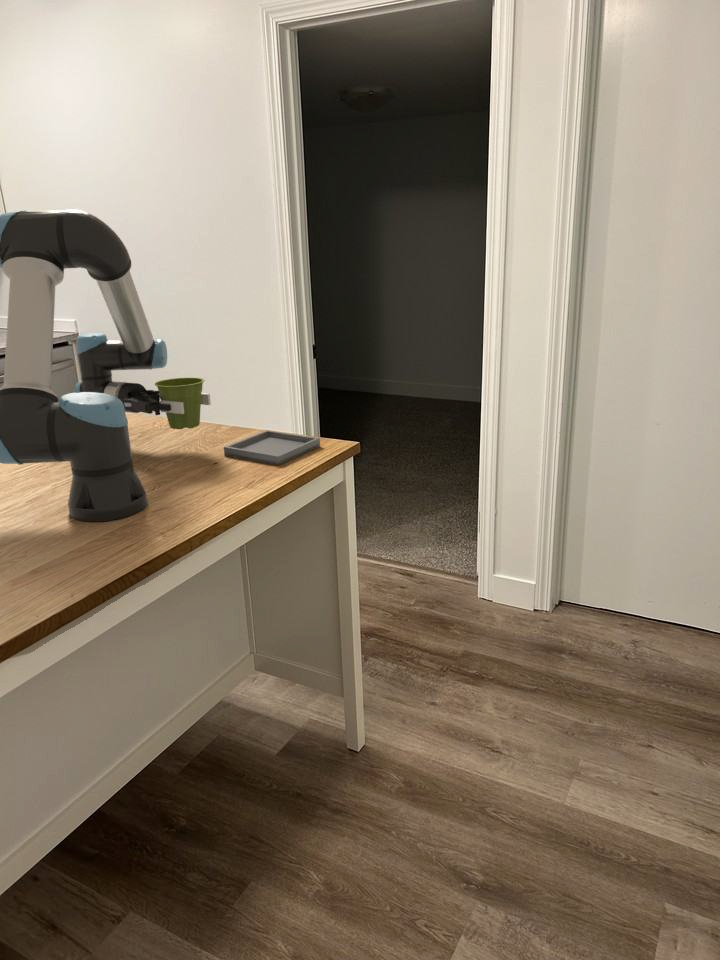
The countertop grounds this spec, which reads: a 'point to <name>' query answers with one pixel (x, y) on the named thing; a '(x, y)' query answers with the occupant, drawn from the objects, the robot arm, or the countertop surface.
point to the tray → (272, 447)
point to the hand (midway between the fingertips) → (196, 403)
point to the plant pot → (183, 400)
